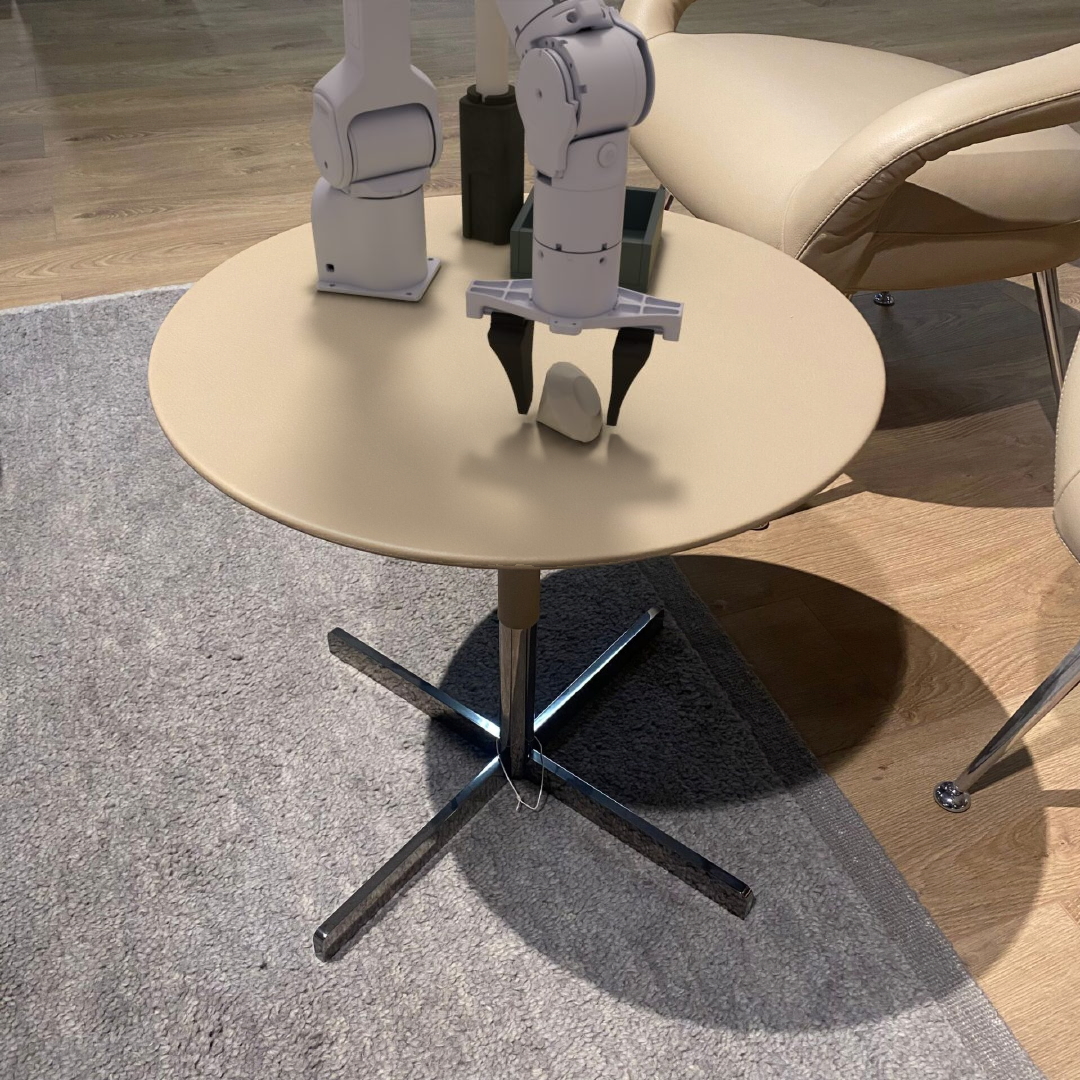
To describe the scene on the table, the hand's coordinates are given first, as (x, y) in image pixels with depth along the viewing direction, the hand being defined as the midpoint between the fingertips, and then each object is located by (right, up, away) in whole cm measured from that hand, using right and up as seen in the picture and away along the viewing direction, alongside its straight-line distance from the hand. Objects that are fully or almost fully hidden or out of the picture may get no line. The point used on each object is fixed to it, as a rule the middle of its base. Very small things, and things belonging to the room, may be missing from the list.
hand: (568, 412), depth 74 cm
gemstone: (0, -1, +1) cm, 2 cm away
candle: (-7, +21, +27) cm, 35 cm away
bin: (+3, +18, +23) cm, 29 cm away
